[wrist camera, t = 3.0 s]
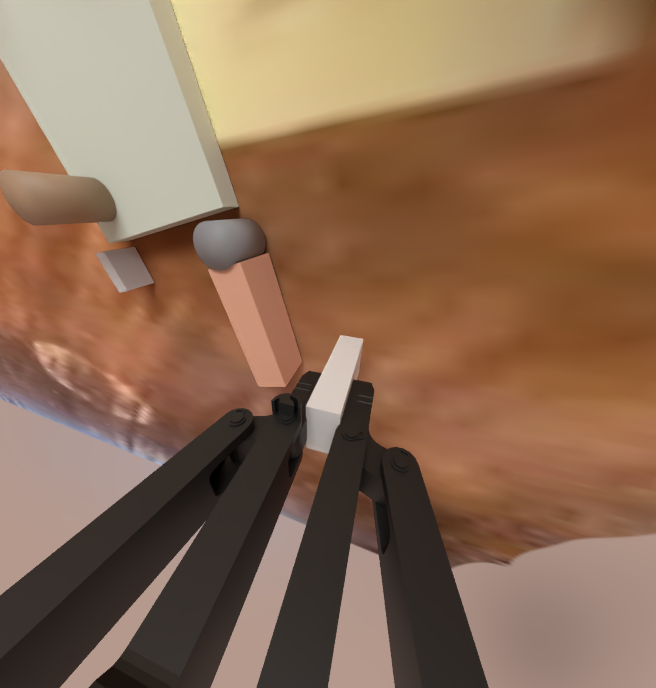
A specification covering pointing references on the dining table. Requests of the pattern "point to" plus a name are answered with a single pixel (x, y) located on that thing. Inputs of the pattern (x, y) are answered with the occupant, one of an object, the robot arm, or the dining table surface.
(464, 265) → the dining table surface
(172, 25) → the pale board with pegs
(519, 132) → the dining table surface
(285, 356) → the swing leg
